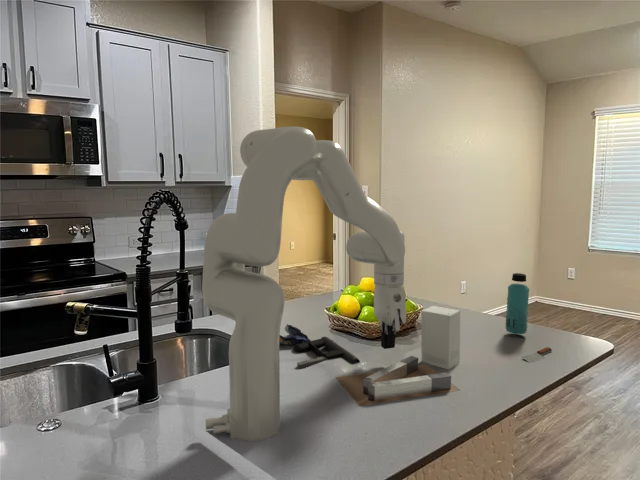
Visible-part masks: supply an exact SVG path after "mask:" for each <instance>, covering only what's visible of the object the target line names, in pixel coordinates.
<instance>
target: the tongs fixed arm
mask: <svg viewBox="0 0 640 480" xmlns="http://www.w3.org/2000/svg"><path fill="white" fill-rule="evenodd" d="M437 373H438V374H431V375H426V376H418V377H411V378H404V379H397V380H390V381H382V382H375V383H369V384H368V400H370V401H377V400H384V399H391V398H397V397H404V396H410V395H417V394H423V393H430V392H437V391H444V390H451V383H452V375H451V374H449V373H448V372H437Z"/></svg>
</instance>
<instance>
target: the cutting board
mask: <svg viewBox="0 0 640 480" xmlns="http://www.w3.org/2000/svg"><path fill="white" fill-rule="evenodd" d="M377 372H378V371H373V372H366V373H357V374H350V375H349V374H348V375H341V376H335V379H336V380H337V381H338V382H339V383H340V385H341V386H342V387H343V389H345V391H346V392H347V393H348V394H349V396H350V397H351V398H352V399H353V400H354V402H355V403H356V404H357V406H358V407H359V406H360V407H361V406H368V405H374V404H380V403H386V402H394V401H399V400H400V401H401V400H405V399H406V400H407V399H412V398H418V397H425V396H432V395H439V394H443V393H444V394H445V393H452V392H459V391H461V389H460V388H458V387H457V386H456V385H454V384H453V383H452V382H451V390H444V391H437V392H430V393H423V394H417V395H410V396H404V397H397V398H391V399H384V400H377V401H370V400H368V394H364V393H363V379H364V378H366V377H368V376H370V375H372V374H375V373H377ZM438 373H439V372H437V371H435V370H434V369H432V367H430V366H428V365H427V364H424V365H418V370H416V371H415V372H413V373H411V374H409V375H406V376H404V377H402V378H400V379H404V378H411V377H418V376H426V375H431V374H438Z"/></svg>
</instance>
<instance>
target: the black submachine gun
mask: <svg viewBox="0 0 640 480" xmlns="http://www.w3.org/2000/svg"><path fill="white" fill-rule="evenodd" d="M324 349H326V350H327V352H323V351H322V350H324ZM293 350H294V351H295V352H296V353H299V354H300V353H305V352H311V353H313V354H314V355H315V356H316V357H315V358H311V359H307V360H303V361H298V362H297V363H296V365H297V368H298V369H299V370H303V369H307V368H309V367H312V366H314V365H317V364H319V363H322V362H324V361H327V360H332V359H338V358H339V359H340V358H342V359H343V360H345V361H347V362H348V363H350V364H351V365H352V364H357V363H361V361H360V359H359V358H358V357H357V356H356V355H354V354H353V353H351V352H350V351H348V350H347V349H345V348H344V347H342V346H341V345H340V344H338V343H337V342H335V341H334V339H333V340H332V339H330V338H329V337H328V336H322V337H321V338H319V339H318V338H317V339H315V340H311V341H309V342H302V343H298V344H294V346H293ZM306 367H307V368H306ZM302 368H303V369H302Z"/></svg>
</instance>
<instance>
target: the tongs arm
mask: <svg viewBox="0 0 640 480" xmlns="http://www.w3.org/2000/svg"><path fill="white" fill-rule="evenodd" d="M418 366H419V357H417V356H415V355H410V356H408V357H406V358H404V359H402V360H399V361H398V362H396V363H394V364H391V365H389V366H387V367H385V368H383V369H382V370H378V371H376V372H377V373H375V374H372V375H370V376H368V377H366V378H364V379H363V393H364V394H368V384H369V383H375V382H382V381H390V380H397V379H400V378H402V377H404V376H406V375H409V374H411V373H413V372H415V371H416V370H418Z"/></svg>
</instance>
